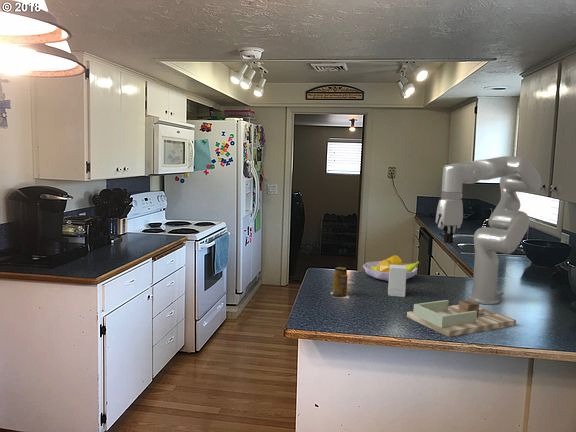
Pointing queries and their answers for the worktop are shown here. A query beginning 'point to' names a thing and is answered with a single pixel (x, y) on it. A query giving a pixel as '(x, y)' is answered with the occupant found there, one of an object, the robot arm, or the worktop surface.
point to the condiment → (340, 283)
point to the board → (481, 323)
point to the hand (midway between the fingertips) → (448, 242)
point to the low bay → (430, 315)
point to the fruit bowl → (382, 268)
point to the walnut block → (468, 306)
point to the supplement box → (397, 280)
